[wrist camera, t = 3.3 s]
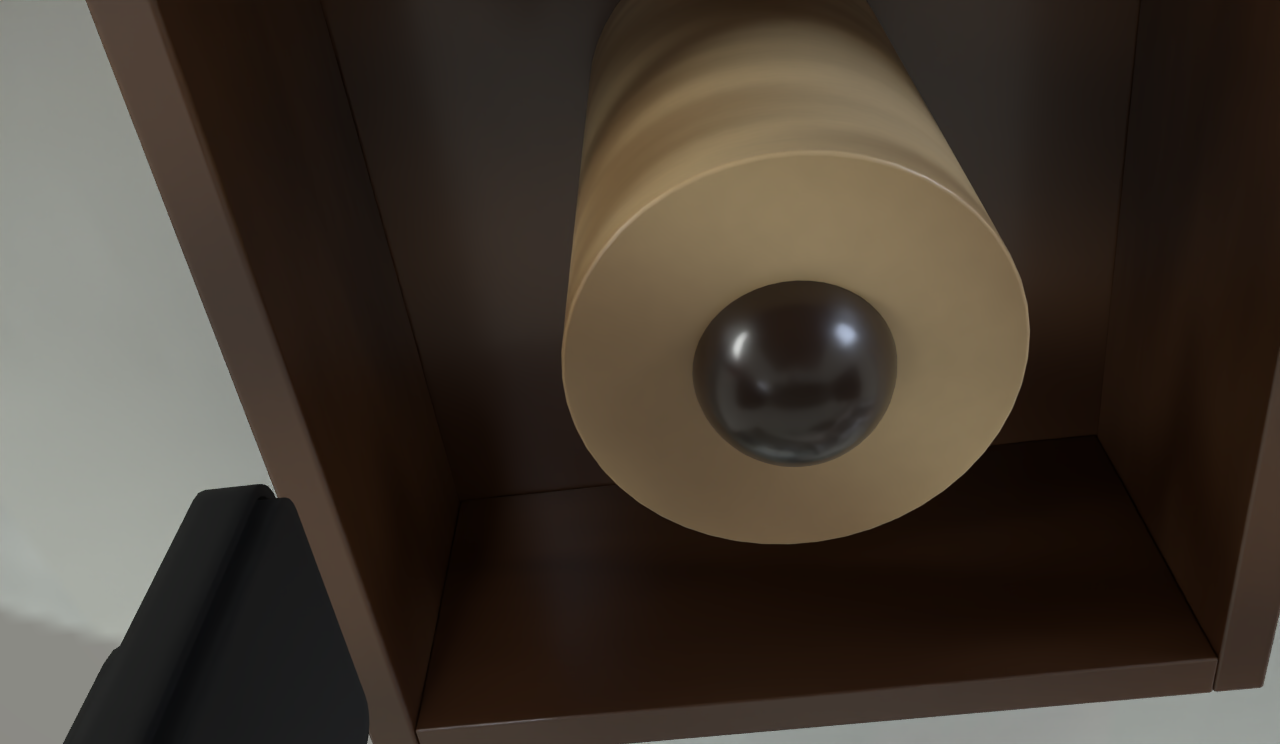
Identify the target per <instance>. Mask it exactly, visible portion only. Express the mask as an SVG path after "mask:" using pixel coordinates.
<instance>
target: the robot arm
mask: <svg viewBox="0 0 1280 744" xmlns="http://www.w3.org/2000/svg"><path fill="white" fill-rule="evenodd" d="M368 735H369V709H368V703H367V699H366V696H365V693H364V690H363V688H362V685H361V682H360V680H359V677H358V674H357V672H356V669H355V666H354V663H353V661H352V658H351V655H350V653H349V650H348V647H347V644H346V642H345V639H344V636H343V634H342V631H341V628H340V626H339V623H338V620H337V617H336V615H335V612H334V609H333V607H332V604H331V601H330V598H329V596H328V593H327V590H326V588H325V585H324V582H323V580H322V577H321V574H320V571H319V569H318V566H317V563H316V561H315V558H314V555H313V553H312V550H311V547H310V544H309V542H308V539H307V536H306V534H305V531H304V528H303V525H302V523H301V520H300V517H299V515H298V512H297V509H296V507H295V505H294V503H293V502H292V501H291V500H290V499H289V498H286V497H283V498H276V497H275V495H274V493H273V492H272V490H271V489H270V488H269V487H268V486H266V485H263V484H256V485H247V486H238V487H229V488H220V489H211V490H204V491H202V492H200V493H198V494H197V496H196V497H195V499H194V500H193V502H192V504H191V506H190V508H189V510H188V512H187V514H186V516H185V518H184V520H183V522H182V524H181V526H180V528H179V530H178V532H177V534H176V536H175V538H174V540H173V542H172V544H171V545H170V547H169V549H168V551H167V553H166V555H165V557H164V559H163V561H162V563H161V565H160V567H159V569H158V571H157V573H156V575H155V577H154V579H153V581H152V583H151V585H150V587H149V589H148V591H147V593H146V595H145V597H144V599H143V601H142V603H141V605H140V607H139V609H138V611H137V613H136V615H135V617H134V619H133V621H132V623H131V625H130V627H129V629H128V631H127V633H126V635H125V637H124V639H123V641H122V643H121V645H120V646H119V647H118V648H116V649H115V650H113V651H112V653H111V654H110V656H109V657H108V659H107V660H106V662H105V663H104V664H103V666H102V668H101V670H100V672H99V674H98V676H97V678H96V680H95V682H94V684H93V686H92V688H91V690H90V692H89V693H88V696H87V698H86V699H85V701H84V703H83V705H82V707H81V709H80V711H79V713H78V715H77V717H76V719H75V721H74V723H73V725H72V727H71V729H70V731H69V733H68V735H67V737H66V739H65V741H64V743H63V744H367V741H368Z"/></svg>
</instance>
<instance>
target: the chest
mask: <svg viewBox="0 0 1280 744" xmlns="http://www.w3.org/2000/svg"><path fill="white" fill-rule="evenodd" d="M620 1H621V0H86V2H87V5H88V8H89V10H90V13H91V15H92V18H93V21H94V23H95V26H96V28H97V31H98V34H99V36H100V39H101V41H102V44H103V46H104V49H105V52H106V54H107V57H108V59H109V62H110V65H111V67H112V70H113V72H114V75H115V78H116V80H117V83H118V85H119V88H120V90H121V93H122V96H123V98H124V101H125V103H126V106H127V109H128V111H129V114H130V116H131V119H132V122H133V124H134V127H135V129H136V132H137V134H138V137H139V140H140V142H141V145H142V147H143V150H144V153H145V155H146V158H147V160H148V163H149V166H150V168H151V171H152V173H153V176H154V178H155V181H156V184H157V186H158V189H159V191H160V194H161V197H162V199H163V202H164V204H165V207H166V210H167V212H168V215H169V217H170V220H171V222H172V225H173V228H174V230H175V233H176V235H177V238H178V241H179V243H180V246H181V248H182V251H183V254H184V256H185V259H186V261H187V264H188V266H189V269H190V272H191V274H192V277H193V279H194V282H195V285H196V287H197V290H198V292H199V295H200V298H201V300H202V303H203V305H204V308H205V310H206V313H207V316H208V318H209V321H210V323H211V326H212V329H213V331H214V334H215V336H216V339H217V342H218V344H219V347H220V349H221V352H222V354H223V357H224V360H225V362H226V365H227V367H228V370H229V373H230V375H231V378H232V380H233V383H234V386H235V388H236V391H237V393H238V396H239V398H240V401H241V404H242V406H243V409H244V411H245V414H246V417H247V419H248V422H249V424H250V427H251V430H252V432H253V435H254V437H255V440H256V442H257V445H258V448H259V450H260V453H261V455H262V458H263V461H264V463H265V466H266V468H267V471H268V474H269V476H270V479H271V481H272V484H273V486H274V489H275V492H276V494H277V497H278V498H283V497H286V498H289V499H290V500H291V501H292V502H293V503H294V505H295V507H296V509H297V512H298V515H299V517H300V520H301V523H302V525H303V528H304V531H305V534H306V536H307V539H308V542H309V544H310V547H311V550H312V553H313V555H314V558H315V561H316V563H317V566H318V569H319V571H320V574H321V577H322V580H323V582H324V585H325V588H326V590H327V593H328V596H329V598H330V601H331V604H332V607H333V609H334V612H335V615H336V617H337V620H338V623H339V626H340V628H341V631H342V634H343V636H344V639H345V642H346V644H347V647H348V650H349V653H350V655H351V658H352V661H353V663H354V666H355V669H356V672H357V674H358V677H359V680H360V682H361V685H362V688H363V690H364V693H365V696H366V699H367V703H368V709H369V735H370V738H371V740H372V742H373V744H628V743H640V742H651V741H663V740H674V739H685V738H697V737H708V736H719V735H731V734H742V733H754V732H765V731H776V730H788V729H799V728H810V727H822V726H833V725H844V724H856V723H867V722H879V721H890V720H901V719H913V718H924V717H935V716H947V715H958V714H970V713H981V712H992V711H1004V710H1015V709H1026V708H1038V707H1049V706H1061V705H1072V704H1083V703H1095V702H1106V701H1117V700H1129V699H1140V698H1152V697H1163V696H1174V695H1186V694H1197V693H1208V692H1211V691H1212V689H1213V690H1214V691H1216V692H1218V691H1229V690H1240V689H1252V688H1261V687H1262V686H1263V684H1264V679H1265V675H1266V670H1267V666H1268V662H1269V657H1270V653H1271V648H1272V644H1273V640H1274V635H1275V631H1276V626H1277V622H1278V618H1279V613H1280V0H866V1H867V2H868V4H869V6H870V7H871V9H872V10H873V12H874V14H875V15H876V17H877V19H878V21H879V23H880V24H881V26H882V28H883V30H884V31H885V33H886V35H887V37H888V39H889V40H890V42H891V44H892V46H893V47H894V49H895V51H896V53H897V54H898V56H899V58H900V60H901V62H902V63H903V65H904V67H905V69H906V70H907V72H908V74H909V76H910V77H911V79H912V81H913V83H914V85H915V86H916V88H917V90H918V92H919V93H920V95H921V97H922V99H923V100H924V102H925V104H926V106H927V108H928V109H929V111H930V113H931V115H932V116H933V118H934V120H935V122H936V124H937V125H938V127H939V129H940V131H941V132H942V134H943V136H944V138H945V139H946V141H947V143H948V145H949V147H950V148H951V150H952V152H953V154H954V155H955V157H956V159H957V161H958V162H959V164H960V166H961V168H962V170H963V171H964V173H965V175H966V177H967V178H968V180H969V182H970V184H971V186H972V187H973V189H974V191H975V193H976V194H977V196H978V198H979V200H980V201H981V203H982V205H983V207H984V209H985V210H986V212H987V214H988V216H989V217H990V219H991V221H992V223H993V224H994V226H995V228H996V230H997V232H998V233H999V235H1000V237H1001V239H1002V240H1003V242H1004V244H1005V246H1006V247H1007V249H1008V251H1009V253H1010V255H1011V257H1012V259H1013V261H1014V264H1015V266H1016V268H1017V271H1018V273H1019V275H1020V278H1021V280H1022V284H1023V288H1024V292H1025V296H1026V300H1027V304H1028V313H1029V325H1030V338H1029V352H1028V360H1027V364H1026V369H1025V373H1024V377H1023V382H1022V385H1021V388H1020V390H1019V393H1018V395H1017V398H1016V401H1015V403H1014V406H1013V408H1012V410H1011V412H1010V414H1009V416H1008V417H1007V419H1006V421H1005V423H1004V425H1003V426H1002V428H1001V430H1000V432H999V433H998V435H997V436H996V437H995V439H994V440H993V441H992V443H991V444H990V445H989V447H988V448H987V449H986V451H985V452H984V453H983V454H982V456H981V457H980V458H979V459H978V460H977V461H976V462H975V463H974V464H973V465H972V466H971V467H970V468H969V469H968V470H967V471H966V473H964V474H963V475H962V476H961V477H960V478H958V479H957V480H956V481H955V482H954V483H952V484H951V485H950V486H949V487H948V488H947V489H945V490H944V491H943V492H941V493H940V494H938V495H937V496H935V497H934V498H932V499H931V500H929V501H928V502H926V503H925V504H923V505H922V506H920V507H918V508H916V509H914V510H912V511H910V512H908V513H907V514H905V515H903V516H901V517H899V518H897V519H895V520H892V521H890V522H887V523H885V524H882V525H880V526H877V527H875V528H872V529H869V530H866V531H862V532H859V533H855V534H852V535H849V536H845V537H840V538H835V539H830V540H824V541H819V542H809V543H798V544H759V543H750V542H741V541H734V540H729V539H725V538H720V537H715V536H711V535H707V534H704V533H701V532H698V531H695V530H692V529H689V528H686V527H684V526H681V525H679V524H677V523H675V522H673V521H671V520H668V519H666V518H664V517H662V516H660V515H658V514H657V513H655V512H653V511H652V510H650V509H649V508H647V507H645V506H644V505H642V504H640V503H639V502H638V501H636V500H635V499H634V498H633V497H631V496H630V495H629V494H628V493H626V492H625V491H624V490H623V489H621V488H620V487H619V486H618V485H617V484H616V483H615V482H614V481H613V480H612V479H611V478H610V477H609V476H608V475H607V474H606V473H605V472H604V471H603V470H602V468H601V467H600V466H599V464H598V463H597V461H596V460H595V459H594V457H593V456H592V455H591V453H590V452H589V451H588V449H587V448H586V446H585V444H584V442H583V440H582V438H581V436H580V435H579V433H578V431H577V429H576V427H575V425H574V422H573V419H572V416H571V413H570V411H569V408H568V405H567V402H566V396H565V391H564V386H563V380H562V359H561V350H562V341H563V331H564V322H565V312H566V302H567V293H568V283H569V274H570V264H571V254H572V245H573V235H574V226H575V216H576V207H577V197H578V187H579V178H580V168H581V159H582V149H583V140H584V130H585V120H586V111H587V101H588V92H589V82H590V74H591V66H592V61H593V57H594V53H595V49H596V46H597V43H598V40H599V38H600V35H601V33H602V31H603V28H604V26H605V24H606V22H607V21H608V19H609V17H610V15H611V14H612V12H613V10H614V8H615V7H616V6H617V5H618V3H619V2H620Z"/></svg>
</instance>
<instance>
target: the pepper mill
mask: <svg viewBox="0 0 1280 744" xmlns="http://www.w3.org/2000/svg"><path fill="white" fill-rule="evenodd" d="M1029 338H1030V325H1029V313H1028V304H1027V300H1026V296H1025V292H1024V288H1023V284H1022V280H1021V278H1020V275H1019V273H1018V271H1017V268H1016V266H1015V264H1014V261H1013V259H1012V257H1011V255H1010V253H1009V251H1008V249H1007V247H1006V246H1005V244H1004V242H1003V240H1002V239H1001V237H1000V235H999V233H998V232H997V230H996V228H995V226H994V224H993V223H992V221H991V219H990V217H989V216H988V214H987V212H986V210H985V209H984V207H983V205H982V203H981V201H980V200H979V198H978V196H977V194H976V193H975V191H974V189H973V187H972V186H971V184H970V182H969V180H968V178H967V177H966V175H965V173H964V171H963V170H962V168H961V166H960V164H959V162H958V161H957V159H956V157H955V155H954V154H953V152H952V150H951V148H950V147H949V145H948V143H947V141H946V139H945V138H944V136H943V134H942V132H941V131H940V129H939V127H938V125H937V124H936V122H935V120H934V118H933V116H932V115H931V113H930V111H929V109H928V108H927V106H926V104H925V102H924V100H923V99H922V97H921V95H920V93H919V92H918V90H917V88H916V86H915V85H914V83H913V81H912V79H911V77H910V76H909V74H908V72H907V70H906V69H905V67H904V65H903V63H902V62H901V60H900V58H899V56H898V54H897V53H896V51H895V49H894V47H893V46H892V44H891V42H890V40H889V39H888V37H887V35H886V33H885V31H884V30H883V28H882V26H881V24H880V23H879V21H878V19H877V17H876V15H875V14H874V12H873V10H872V9H871V7H870V6H869V4H868V2H867V1H866V0H621V1H620V2H619V3H618V5H617V6H616V7H615V8H614V10H613V12H612V14H611V15H610V17H609V19H608V21H607V22H606V24H605V26H604V28H603V31H602V33H601V35H600V38H599V40H598V43H597V46H596V49H595V53H594V57H593V61H592V66H591V74H590V82H589V92H588V101H587V111H586V120H585V130H584V140H583V149H582V159H581V168H580V178H579V187H578V197H577V207H576V216H575V226H574V235H573V245H572V254H571V264H570V274H569V283H568V293H567V302H566V312H565V322H564V331H563V341H562V350H561V359H562V380H563V386H564V391H565V396H566V402H567V405H568V408H569V411H570V413H571V416H572V419H573V422H574V425H575V427H576V429H577V431H578V433H579V435H580V436H581V438H582V440H583V442H584V444H585V446H586V448H587V449H588V451H589V452H590V453H591V455H592V456H593V457H594V459H595V460H596V461H597V463H598V464H599V466H600V467H601V468H602V470H603V471H604V472H605V473H606V474H607V475H608V476H609V477H610V478H611V479H612V480H613V481H614V482H615V483H616V484H617V485H618V486H619V487H620V488H621V489H623V490H624V491H625V492H626V493H628V494H629V495H630V496H631V497H633V498H634V499H635V500H636V501H638V502H639V503H640V504H642V505H644V506H645V507H647V508H649V509H650V510H652V511H653V512H655V513H657V514H658V515H660V516H662V517H664V518H666V519H668V520H671V521H673V522H675V523H677V524H679V525H681V526H684V527H686V528H689V529H692V530H695V531H698V532H701V533H704V534H707V535H711V536H715V537H720V538H725V539H729V540H734V541H741V542H750V543H759V544H798V543H809V542H819V541H824V540H830V539H835V538H840V537H845V536H849V535H852V534H855V533H859V532H862V531H866V530H869V529H872V528H875V527H877V526H880V525H882V524H885V523H887V522H890V521H892V520H895V519H897V518H899V517H901V516H903V515H905V514H907V513H908V512H910V511H912V510H914V509H916V508H918V507H920V506H922V505H923V504H925V503H926V502H928V501H929V500H931V499H932V498H934V497H935V496H937V495H938V494H940V493H941V492H943V491H944V490H945V489H947V488H948V487H949V486H950V485H951V484H952V483H954V482H955V481H956V480H957V479H958V478H960V477H961V476H962V475H963V474H964V473H966V471H967V470H968V469H969V468H970V467H971V466H972V465H973V464H974V463H975V462H976V461H977V460H978V459H979V458H980V457H981V456H982V454H983V453H984V452H985V451H986V449H987V448H988V447H989V445H990V444H991V443H992V441H993V440H994V439H995V437H996V436H997V435H998V433H999V432H1000V430H1001V428H1002V426H1003V425H1004V423H1005V421H1006V419H1007V417H1008V416H1009V414H1010V412H1011V410H1012V408H1013V406H1014V403H1015V401H1016V398H1017V395H1018V393H1019V390H1020V388H1021V385H1022V382H1023V377H1024V373H1025V369H1026V364H1027V360H1028V352H1029Z"/></svg>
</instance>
